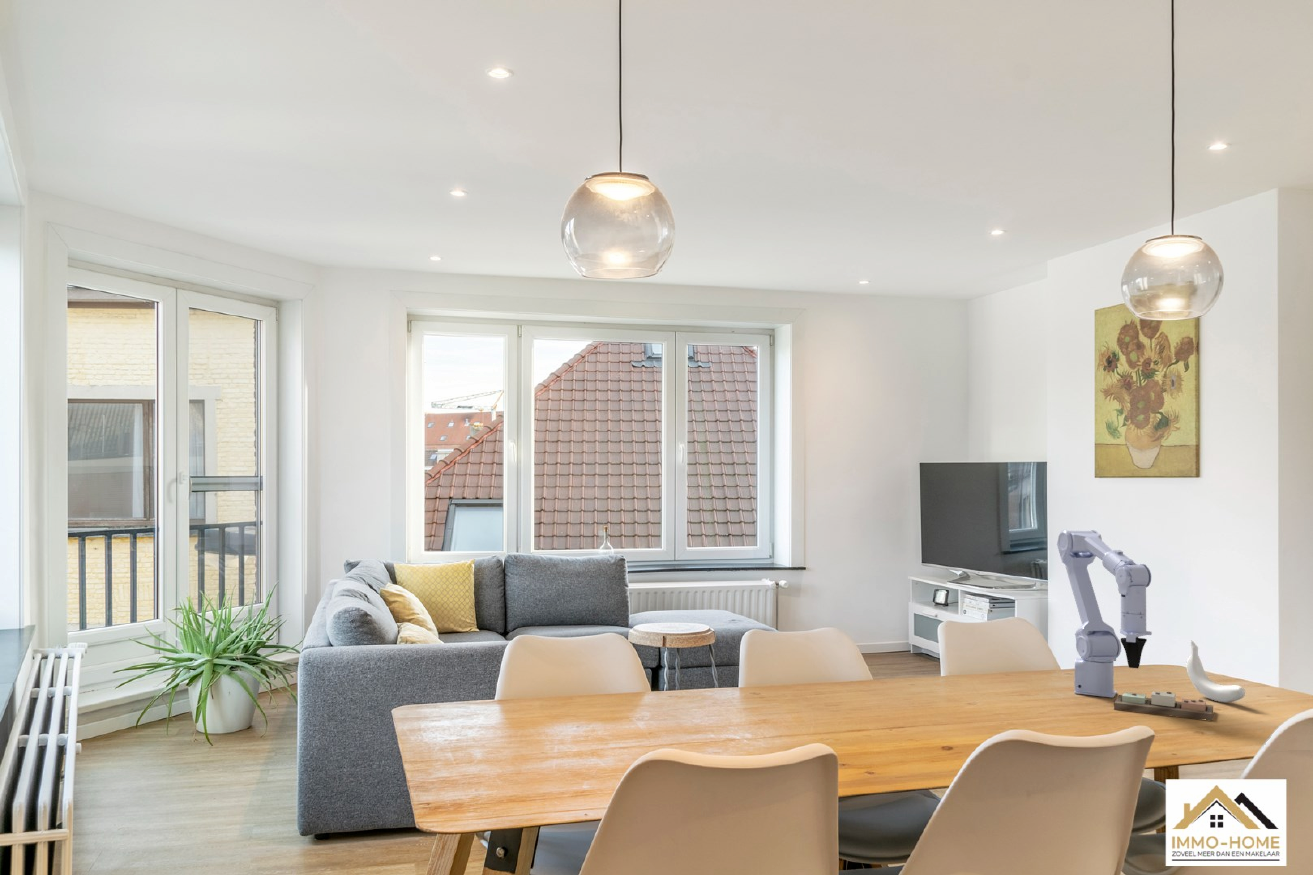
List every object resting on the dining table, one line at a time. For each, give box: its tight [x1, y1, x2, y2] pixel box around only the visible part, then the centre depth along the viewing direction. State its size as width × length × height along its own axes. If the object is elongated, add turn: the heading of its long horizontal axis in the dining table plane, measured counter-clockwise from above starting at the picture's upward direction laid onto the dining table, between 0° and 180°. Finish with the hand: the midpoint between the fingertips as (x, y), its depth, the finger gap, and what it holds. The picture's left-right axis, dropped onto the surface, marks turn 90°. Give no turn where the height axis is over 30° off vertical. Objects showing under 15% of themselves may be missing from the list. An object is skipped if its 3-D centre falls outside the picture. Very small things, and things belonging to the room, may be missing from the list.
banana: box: [1185, 640, 1246, 703], centre depth 252 cm, size 5×19×15 cm, turn 15°
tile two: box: [1150, 690, 1177, 707], centre depth 240 cm, size 5×5×3 cm
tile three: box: [1180, 698, 1207, 711], centre depth 237 cm, size 5×5×3 cm
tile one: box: [1121, 691, 1147, 704], centre depth 243 cm, size 5×5×3 cm
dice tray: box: [1113, 694, 1214, 722], centre depth 240 cm, size 21×11×2 cm, turn 59°
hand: (1133, 667), depth 244 cm, fingers closed
